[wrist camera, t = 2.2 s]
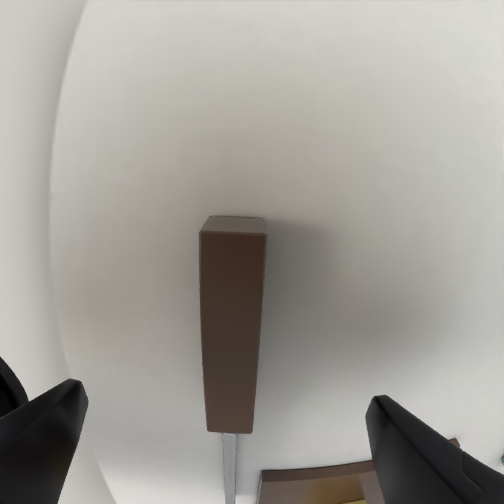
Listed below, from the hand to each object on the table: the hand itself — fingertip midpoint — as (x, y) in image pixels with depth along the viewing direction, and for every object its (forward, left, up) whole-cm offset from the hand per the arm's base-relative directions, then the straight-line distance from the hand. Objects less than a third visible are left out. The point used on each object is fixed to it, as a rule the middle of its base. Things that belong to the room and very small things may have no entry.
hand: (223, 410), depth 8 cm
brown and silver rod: (0, -6, -5) cm, 8 cm away
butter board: (+10, -21, -5) cm, 24 cm away
